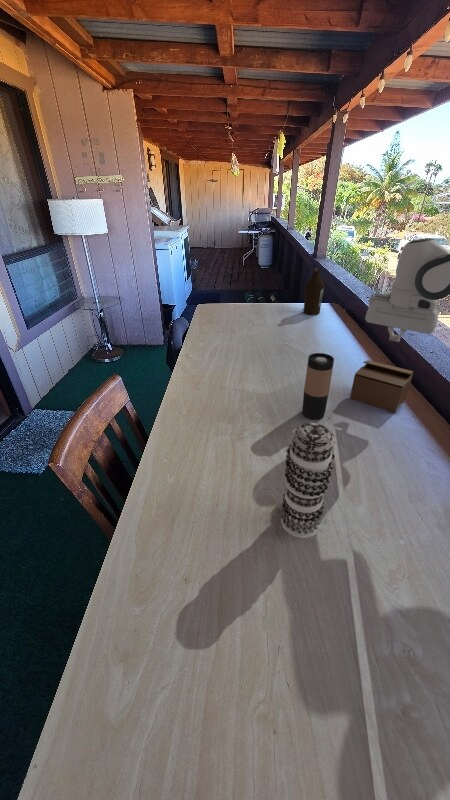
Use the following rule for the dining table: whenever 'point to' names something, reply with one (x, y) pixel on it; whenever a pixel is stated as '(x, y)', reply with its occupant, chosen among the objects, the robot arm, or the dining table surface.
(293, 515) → the decorative candle
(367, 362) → the flap
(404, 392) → the carton
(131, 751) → the dining table surface
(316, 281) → the olive oil
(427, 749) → the dining table surface
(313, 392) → the travel mug
